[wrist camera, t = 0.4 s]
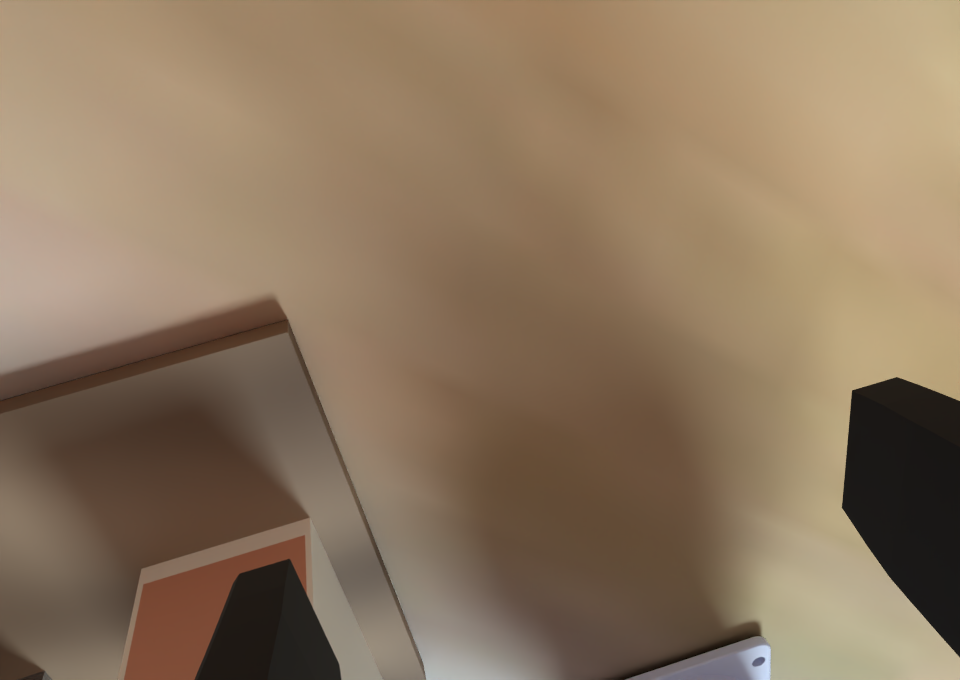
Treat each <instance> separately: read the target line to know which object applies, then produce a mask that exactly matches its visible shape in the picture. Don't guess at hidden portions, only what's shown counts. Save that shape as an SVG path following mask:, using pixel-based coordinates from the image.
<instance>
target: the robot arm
mask: <svg viewBox="0 0 960 680" xmlns="http://www.w3.org/2000/svg"><path fill="white" fill-rule="evenodd" d="M842 508H843V510H844V511H845V513H846V514H847V516H848V517H849V519H850V520H851V522H852V523H853V525H854V526H855V528H856V529H857V531H858V532H859V534H860V535H861V537H862V538H863V540H864V541H865V543H866V545H867V546H868V547H869V549H870V550H871V552H872V553H873V554H874V556H875V557H876V559H877V560H878V561H879V563H880V564H881V566H882V567H883V569H884V570H885V571H886V573H887V574H888V576H889V577H890V578H891V579H892V580H893V582H894V583H895V584H896V585H897V586H898V587H899V589H900V590H901V591H902V592H903V593H904V594H905V596H906V597H907V598H908V599H909V600H910V601H911V602H912V604H913V605H914V606H915V607H916V608H917V609H918V610H919V612H920V613H921V614H922V615H923V616H924V617H925V618H926V620H927V621H928V622H929V623H930V624H931V625H932V626H933V628H934V629H935V630H936V631H937V632H938V633H939V634H940V636H941V637H942V638H943V639H944V640H945V641H946V642H947V643H948V645H949V646H950V647H951V648H952V649H953V650H954V651H955V652H956V654H957V655H958V656H959V657H960V401H958V400H956V399H953V398H951V397H948V396H946V395H943V394H941V393H938V392H935V391H933V390H930V389H928V388H925V387H922V386H920V385H917V384H914V383H912V382H909V381H906V380H903V379H900V378H897V377H896V378H893V379H889V380H886V381H883V382H879V383H876V384H873V385H869V386H866V387H862V388H859V389H856V390H852V399H851V411H850V422H849V434H848V445H847V457H846V468H845V480H844V492H843V503H842ZM770 658H771V648H770V645H769V644H768V642H767V640H766V639H765V638H764V637H760V636H756V637H751V638H748V639H745V640H742V641H739V642H736V643H733V644H730V645H727V646H724V647H721V648H718V649H715V650H712V651H709V652H706V653H703V654H700V655H697V656H694V657H691V658H688V659H685V660H682V661H679V662H676V663H673V664H670V665H667V666H664V667H661V668H658V669H655V670H652V671H649V672H646V673H643V674H640V675H637V676H634V677H631V678H628V679H625V680H770ZM194 680H341V672H340V665H339V663H338V660H337V658H336V656H335V654H334V652H333V650H332V648H331V645H330V643H329V641H328V639H327V637H326V635H325V633H324V630H323V628H322V626H321V624H320V622H319V620H318V618H317V615H316V613H315V611H314V609H313V607H312V605H311V603H310V600H309V598H308V596H307V594H306V592H305V590H304V588H303V585H302V583H301V581H300V579H299V577H298V575H297V573H296V571H295V568H294V566H293V564H292V562H291V560H290V559H286V560H283V561H280V562H276V563H273V564H270V565H266V566H263V567H260V568H256V569H253V570H250V571H246V572H243V573H240V574H239V575H238V576H237V578H236V579H235V581H234V582H233V585H232V587H231V590H230V592H229V595H228V597H227V600H226V603H225V605H224V608H223V610H222V613H221V615H220V618H219V620H218V623H217V626H216V628H215V631H214V633H213V636H212V638H211V641H210V643H209V645H208V648H207V650H206V653H205V655H204V658H203V660H202V662H201V665H200V667H199V670H198V672H197V674H196V677H195V679H194Z"/></svg>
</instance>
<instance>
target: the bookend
mask: <svg viewBox="0 0 960 680" xmlns="http://www.w3.org/2000/svg"><path fill="white" fill-rule="evenodd" d="M17 680H52V679H51V677H50V676H49V675H48V674H47V673H46V671H43V672H40V673H36V674H33V675H30V676H27V677H24V678H20V679H17Z"/></svg>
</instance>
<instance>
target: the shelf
mask: <svg viewBox="0 0 960 680" xmlns="http://www.w3.org/2000/svg"><path fill="white" fill-rule="evenodd" d="M307 518H311V521H312V523H313V525H314V527H315V530H316V532H317V534H318V536H319V538H320V541H321V543H322V545H323V547H324V550H325V552H326V554H327V556H328V559H329V561H330V563H331V565H332V567H333V570H334V572H335V574H336V576H337V579H338V581H339V583H340V585H341V587H342V590H343V592H344V594H345V596H346V599H347V601H348V603H349V605H350V608H351V610H352V612H353V614H354V616H355V619H356V621H357V623H358V625H359V628H360V630H361V632H362V634H363V636H364V639H365V641H366V643H367V645H368V648H369V650H370V652H371V654H372V657H373V659H374V661H375V663H376V665H377V668H378V670H379V672H380V674H381V677H382V679H383V680H426V677H425V671H424V665H423V662H422V660H421V657H420V655H419V652H418V649H417V647H416V644H415V642H414V639H413V637H412V634H411V632H410V629H409V627H408V624H407V622H406V619H405V616H404V614H403V611H402V609H401V606H400V604H399V601H398V599H397V596H396V594H395V591H394V588H393V586H392V583H391V581H390V578H389V576H388V573H387V571H386V568H385V566H384V563H383V561H382V558H381V555H380V553H379V550H378V548H377V545H376V543H375V540H374V538H373V535H372V533H371V530H370V528H369V525H368V522H367V520H366V517H365V515H364V512H363V510H362V507H361V505H360V502H359V500H358V497H357V495H356V492H355V489H354V487H353V484H352V482H351V479H350V477H349V474H348V472H347V469H346V467H345V464H344V461H343V459H342V456H341V454H340V451H339V449H338V446H337V444H336V441H335V439H334V436H333V434H332V431H331V428H330V426H329V423H328V421H327V418H326V416H325V413H324V411H323V408H322V406H321V403H320V401H319V398H318V395H317V393H316V390H315V388H314V385H313V383H312V380H311V378H310V375H309V373H308V370H307V367H306V365H305V362H304V360H303V357H302V355H301V352H300V350H299V347H298V345H297V342H296V340H295V337H294V334H293V332H292V329H291V327H290V324H289V322H288V320H285V321H281V322H278V323H274V324H271V325H267V326H264V327H260V328H257V329H253V330H250V331H246V332H243V333H239V334H236V335H232V336H228V337H225V338H221V339H218V340H214V341H211V342H207V343H204V344H200V345H197V346H193V347H190V348H186V349H183V350H179V351H175V352H172V353H168V354H165V355H161V356H158V357H154V358H151V359H147V360H144V361H140V362H137V363H133V364H130V365H126V366H122V367H119V368H115V369H112V370H108V371H105V372H101V373H98V374H94V375H91V376H87V377H84V378H80V379H77V380H73V381H69V382H66V383H62V384H59V385H55V386H52V387H48V388H45V389H41V390H38V391H34V392H31V393H27V394H24V395H20V396H16V397H13V398H9V399H6V400H2V401H0V680H17V679H20V678H24V677H27V676H30V675H33V674H36V673H40V672H43V671H46V673H47V674H48V675H49V676H50V677H51V679H52V680H118V677H119V672H120V667H121V663H122V658H123V653H124V648H125V644H126V639H127V634H128V630H129V625H130V620H131V616H132V611H133V606H134V602H135V597H136V592H137V587H138V583H139V578H140V573H141V569H142V568H146V567H149V566H152V565H156V564H159V563H162V562H165V561H169V560H172V559H175V558H179V557H182V556H185V555H188V554H192V553H195V552H198V551H202V550H205V549H208V548H211V547H215V546H218V545H221V544H225V543H228V542H231V541H234V540H238V539H241V538H244V537H248V536H251V535H254V534H257V533H261V532H264V531H267V530H271V529H274V528H277V527H280V526H284V525H287V524H290V523H294V522H297V521H300V520H303V519H307Z"/></svg>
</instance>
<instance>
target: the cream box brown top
mask: <svg viewBox="0 0 960 680" xmlns="http://www.w3.org/2000/svg"><path fill="white" fill-rule="evenodd" d="M286 559H290V560H291V562H292V564H293V566H294V568H295V571H296V573H297V575H298V577H299V579H300V581H301V583H302V585H303V588H304V590H305V592H306V594H307V596H308V598H309V600H310V603H311V605H312V607H313V609H314V611H315V613H316V615H317V618H318V620H319V622H320V624H321V626H322V628H323V630H324V633H325V635H326V637H327V639H328V641H329V643H330V645H331V648H332V650H333V652H334V654H335V656H336V658H337V660H338V663H339V665H340V672H341V680H383V679H382V677H381V674H380V672H379V670H378V668H377V665H376V663H375V661H374V659H373V657H372V654H371V652H370V650H369V648H368V645H367V643H366V641H365V639H364V636H363V634H362V632H361V630H360V628H359V625H358V623H357V621H356V619H355V616H354V614H353V612H352V610H351V608H350V605H349V603H348V601H347V599H346V596H345V594H344V592H343V590H342V587H341V585H340V583H339V581H338V579H337V576H336V574H335V572H334V570H333V567H332V565H331V563H330V561H329V559H328V556H327V554H326V552H325V550H324V547H323V545H322V543H321V541H320V538H319V536H318V534H317V532H316V530H315V527H314V525H313V523H312V521H311V518H307V519H303V520H300V521H297V522H294V523H290V524H287V525H284V526H280V527H277V528H274V529H271V530H267V531H264V532H261V533H257V534H254V535H251V536H248V537H244V538H241V539H238V540H234V541H231V542H228V543H225V544H221V545H218V546H215V547H211V548H208V549H205V550H202V551H198V552H195V553H192V554H188V555H185V556H182V557H179V558H175V559H172V560H169V561H165V562H162V563H159V564H156V565H152V566H149V567H146V568H142V569H141V573H140V578H139V583H138V587H137V592H136V597H135V602H134V606H133V611H132V616H131V620H130V625H129V630H128V634H127V639H126V644H125V648H124V653H123V658H122V663H121V667H120V672H119V677H118V680H194V679H195V677H196V674H197V672H198V670H199V667H200V665H201V662H202V660H203V658H204V655H205V653H206V650H207V648H208V645H209V643H210V641H211V638H212V636H213V633H214V631H215V628H216V626H217V623H218V620H219V618H220V615H221V613H222V610H223V608H224V605H225V603H226V600H227V597H228V595H229V592H230V590H231V587H232V585H233V582H234V581H235V579H236V578H237V576H238V575H239V574H240V573H243V572H246V571H250V570H253V569H256V568H260V567H263V566H266V565H270V564H273V563H276V562H280V561H283V560H286Z"/></svg>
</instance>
